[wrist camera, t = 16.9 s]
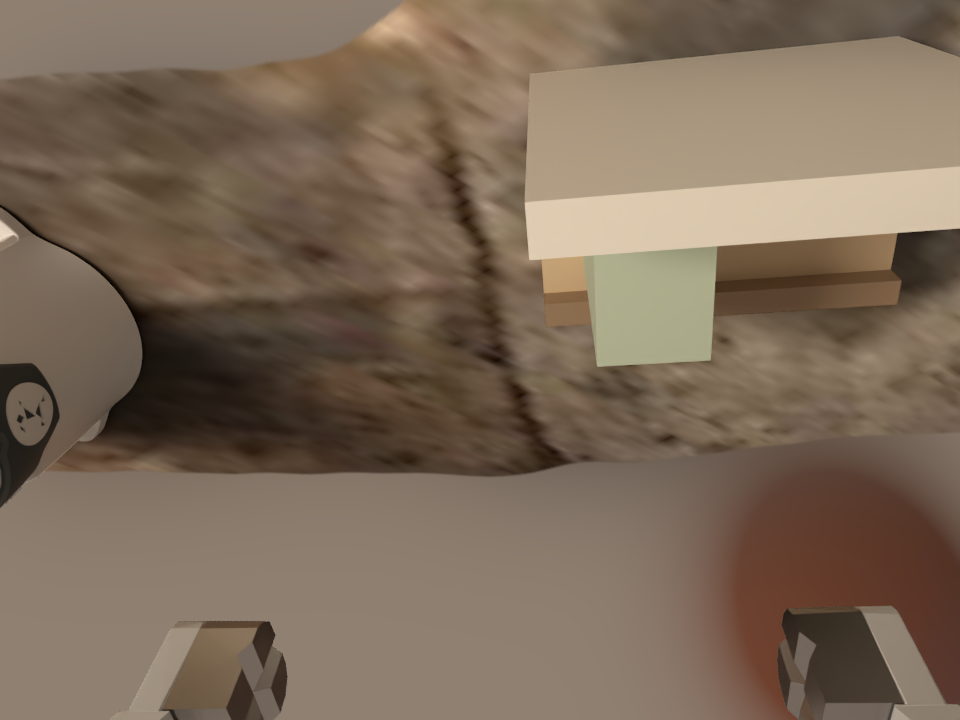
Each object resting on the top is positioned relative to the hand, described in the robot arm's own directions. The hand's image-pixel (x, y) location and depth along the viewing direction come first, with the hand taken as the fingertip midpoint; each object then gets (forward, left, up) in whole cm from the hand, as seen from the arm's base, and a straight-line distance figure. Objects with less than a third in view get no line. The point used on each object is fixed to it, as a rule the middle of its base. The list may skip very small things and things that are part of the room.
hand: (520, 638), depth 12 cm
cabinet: (+5, -5, -33) cm, 34 cm away
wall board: (+10, -5, -37) cm, 39 cm away
